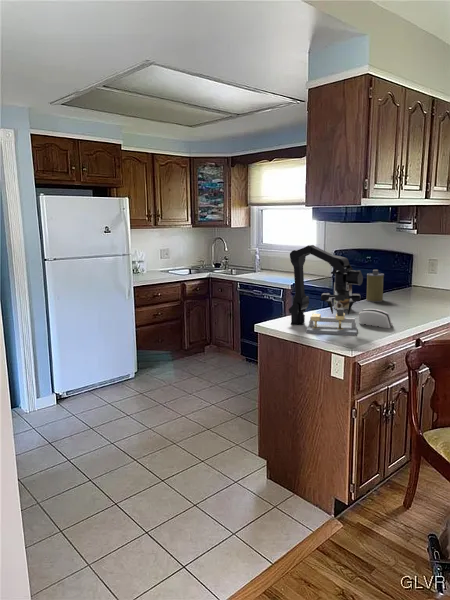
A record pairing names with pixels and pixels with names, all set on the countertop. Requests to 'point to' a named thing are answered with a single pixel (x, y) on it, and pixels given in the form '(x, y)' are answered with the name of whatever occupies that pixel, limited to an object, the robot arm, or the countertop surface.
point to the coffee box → (345, 303)
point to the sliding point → (340, 315)
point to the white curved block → (375, 318)
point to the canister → (375, 286)
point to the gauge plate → (331, 326)
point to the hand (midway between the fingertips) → (340, 314)
